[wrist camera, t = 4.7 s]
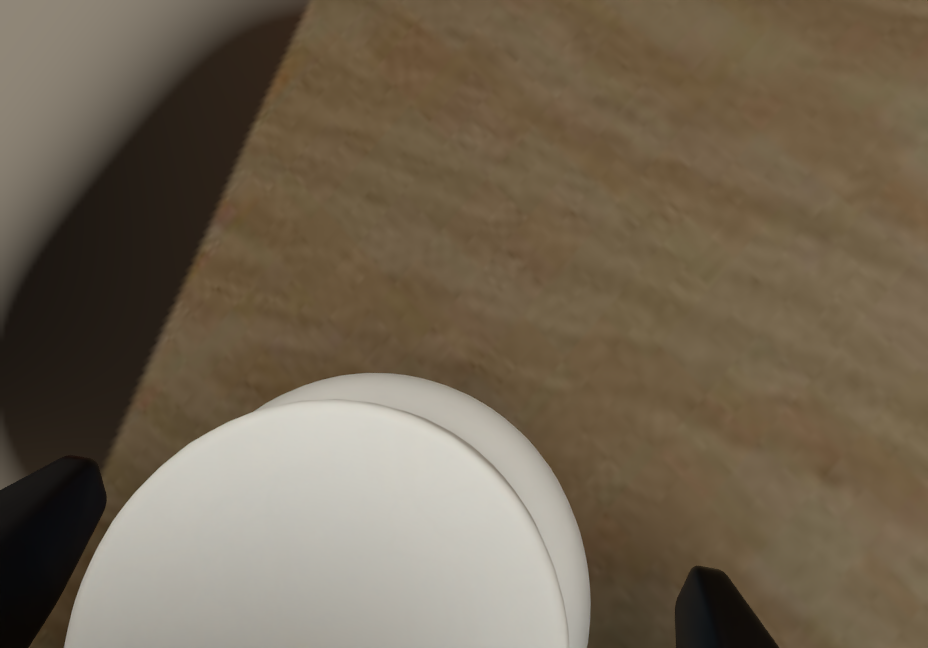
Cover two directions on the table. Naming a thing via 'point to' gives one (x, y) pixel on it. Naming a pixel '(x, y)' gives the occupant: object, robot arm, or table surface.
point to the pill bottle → (344, 532)
